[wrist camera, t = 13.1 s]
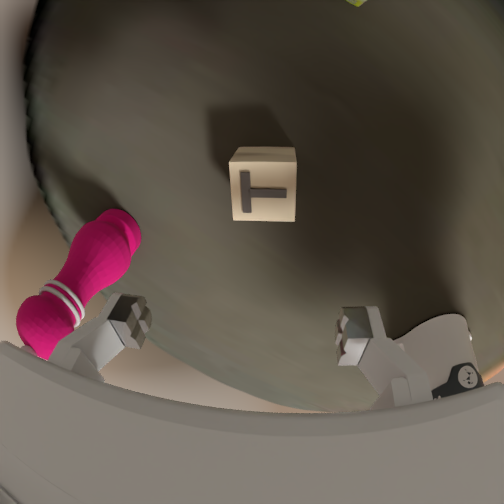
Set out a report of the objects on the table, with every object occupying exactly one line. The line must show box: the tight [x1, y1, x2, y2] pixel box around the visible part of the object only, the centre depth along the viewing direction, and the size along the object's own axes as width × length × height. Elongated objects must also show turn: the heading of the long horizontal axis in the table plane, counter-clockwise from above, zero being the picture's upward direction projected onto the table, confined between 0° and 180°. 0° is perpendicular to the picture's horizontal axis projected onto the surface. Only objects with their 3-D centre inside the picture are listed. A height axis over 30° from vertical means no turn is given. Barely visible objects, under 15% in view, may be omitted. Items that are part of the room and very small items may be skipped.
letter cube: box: [229, 147, 297, 222], centre depth 23 cm, size 5×5×5 cm
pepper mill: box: [16, 209, 141, 360], centre depth 22 cm, size 7×7×20 cm
